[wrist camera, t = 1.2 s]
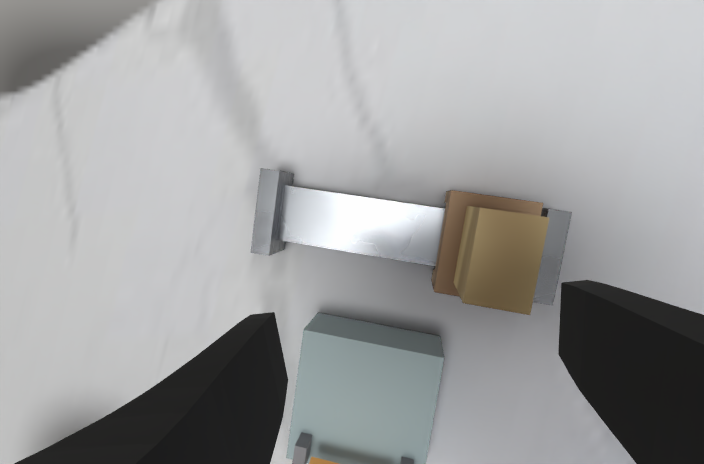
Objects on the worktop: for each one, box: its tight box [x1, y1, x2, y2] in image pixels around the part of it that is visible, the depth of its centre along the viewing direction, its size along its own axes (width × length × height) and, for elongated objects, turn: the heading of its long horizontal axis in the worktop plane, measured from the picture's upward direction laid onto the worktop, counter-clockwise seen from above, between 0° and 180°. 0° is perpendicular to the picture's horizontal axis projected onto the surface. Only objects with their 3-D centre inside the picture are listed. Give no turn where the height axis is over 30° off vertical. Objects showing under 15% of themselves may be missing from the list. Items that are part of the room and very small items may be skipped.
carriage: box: [431, 190, 549, 315], centre depth 17 cm, size 4×5×6 cm
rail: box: [251, 168, 572, 305], centre depth 20 cm, size 15×4×2 cm, turn 82°
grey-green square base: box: [286, 313, 444, 464], centre depth 20 cm, size 7×7×4 cm
